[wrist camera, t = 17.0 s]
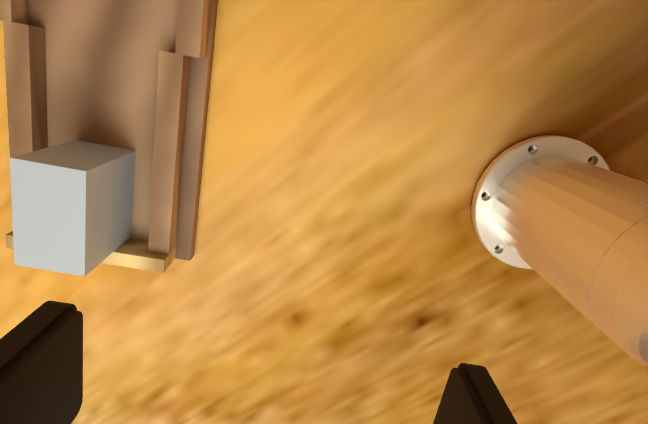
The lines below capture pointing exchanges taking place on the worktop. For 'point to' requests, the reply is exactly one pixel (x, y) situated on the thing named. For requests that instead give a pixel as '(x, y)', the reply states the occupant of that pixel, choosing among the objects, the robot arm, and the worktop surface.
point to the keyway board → (119, 101)
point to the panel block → (71, 205)
